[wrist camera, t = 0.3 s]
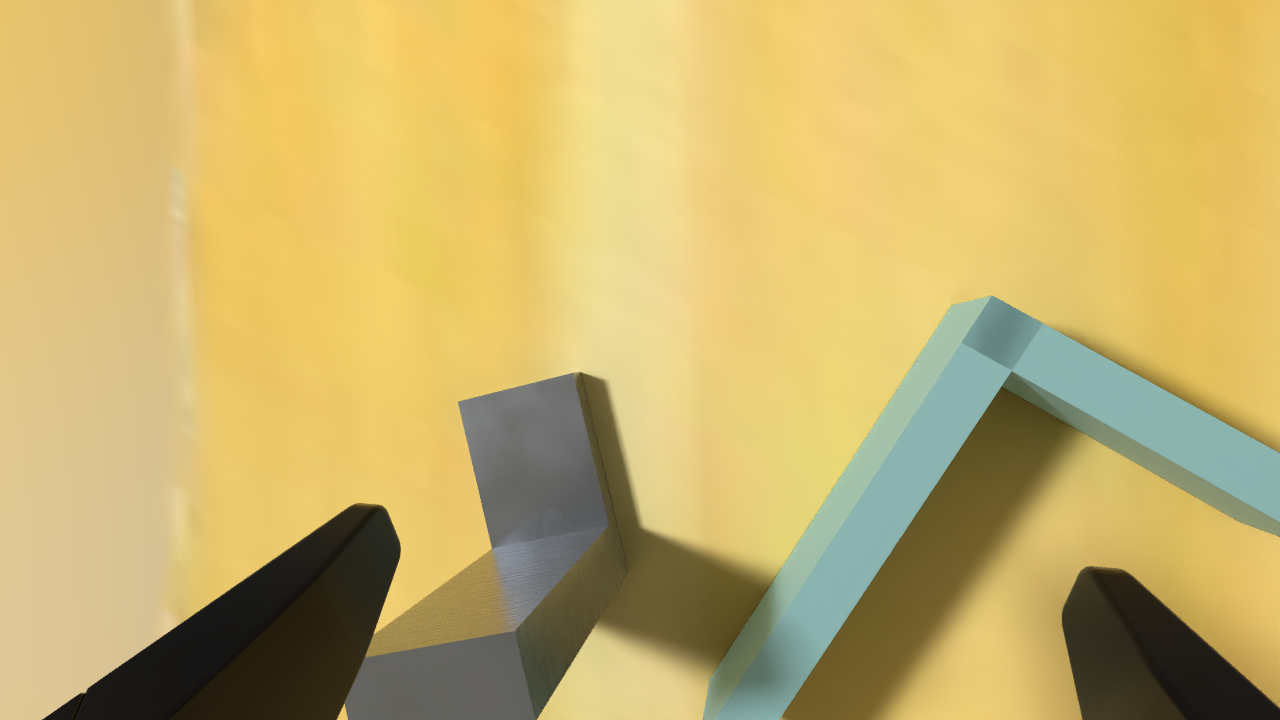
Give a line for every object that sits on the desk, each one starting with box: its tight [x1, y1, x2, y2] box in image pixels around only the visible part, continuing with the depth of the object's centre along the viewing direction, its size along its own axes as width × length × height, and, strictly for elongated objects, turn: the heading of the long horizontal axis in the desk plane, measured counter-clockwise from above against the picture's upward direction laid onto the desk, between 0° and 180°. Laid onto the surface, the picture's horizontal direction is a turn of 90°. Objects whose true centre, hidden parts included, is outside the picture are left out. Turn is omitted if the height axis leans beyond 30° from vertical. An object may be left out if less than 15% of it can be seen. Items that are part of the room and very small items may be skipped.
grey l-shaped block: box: [345, 372, 628, 720], centre depth 20 cm, size 8×4×10 cm, turn 14°
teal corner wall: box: [703, 296, 1280, 720], centre depth 20 cm, size 16×11×4 cm
